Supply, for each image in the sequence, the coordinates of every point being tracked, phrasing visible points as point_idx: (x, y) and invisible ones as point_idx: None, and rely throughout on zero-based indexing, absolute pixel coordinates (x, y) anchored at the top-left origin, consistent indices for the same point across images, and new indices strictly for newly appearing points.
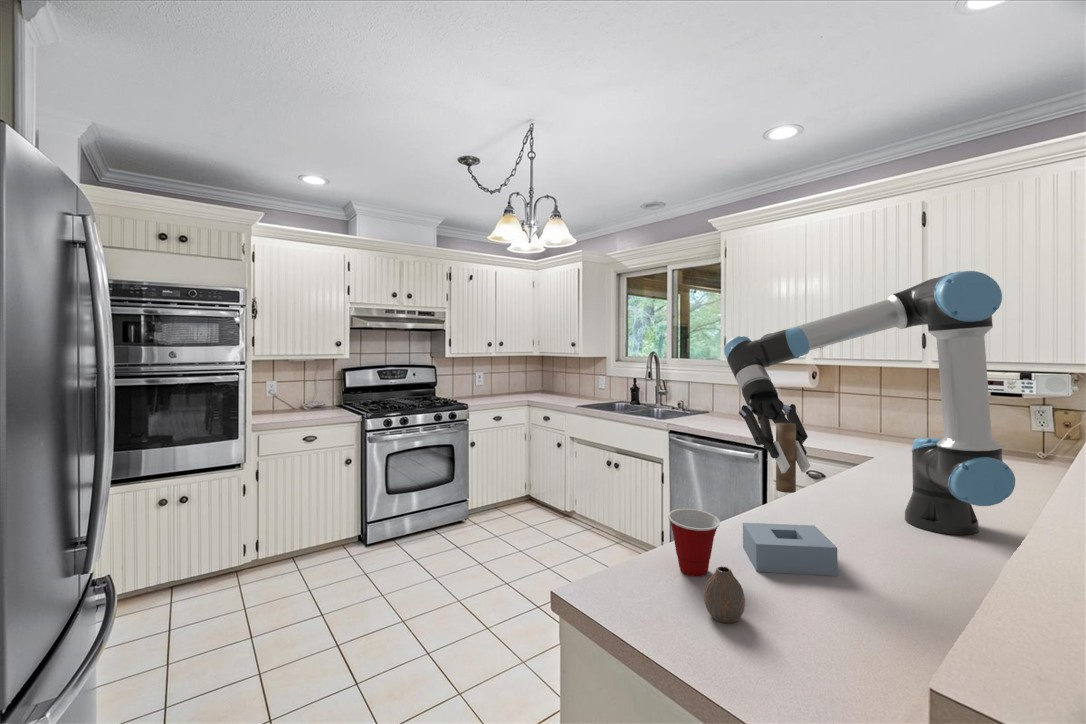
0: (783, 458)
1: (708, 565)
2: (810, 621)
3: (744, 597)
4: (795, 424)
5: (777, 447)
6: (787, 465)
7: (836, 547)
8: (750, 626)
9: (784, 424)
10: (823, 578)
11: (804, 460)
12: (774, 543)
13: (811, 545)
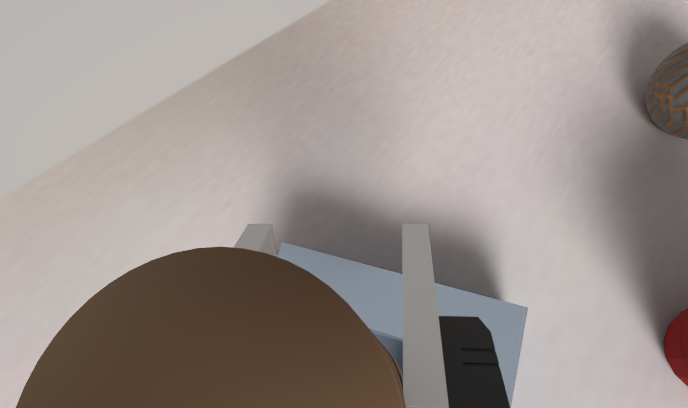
0: (425, 261)
1: (678, 319)
2: (492, 87)
3: (664, 62)
4: (66, 329)
5: (441, 343)
6: (417, 227)
7: (283, 242)
8: (629, 79)
9: (275, 374)
10: (343, 254)
11: (260, 248)
12: (460, 301)
13: (348, 267)
